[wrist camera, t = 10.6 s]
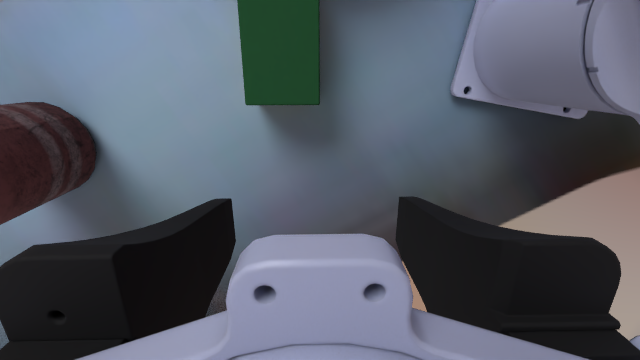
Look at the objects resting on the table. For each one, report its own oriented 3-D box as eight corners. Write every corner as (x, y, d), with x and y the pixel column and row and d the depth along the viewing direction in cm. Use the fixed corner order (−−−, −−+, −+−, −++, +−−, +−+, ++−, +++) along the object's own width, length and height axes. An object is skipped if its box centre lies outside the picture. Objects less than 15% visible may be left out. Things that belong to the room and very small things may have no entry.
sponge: (248, -9, 19) (235, -27, 15) (318, -9, 19) (319, -27, 16) (255, 100, 21) (245, 105, 17) (318, 100, 21) (319, 105, 18)
